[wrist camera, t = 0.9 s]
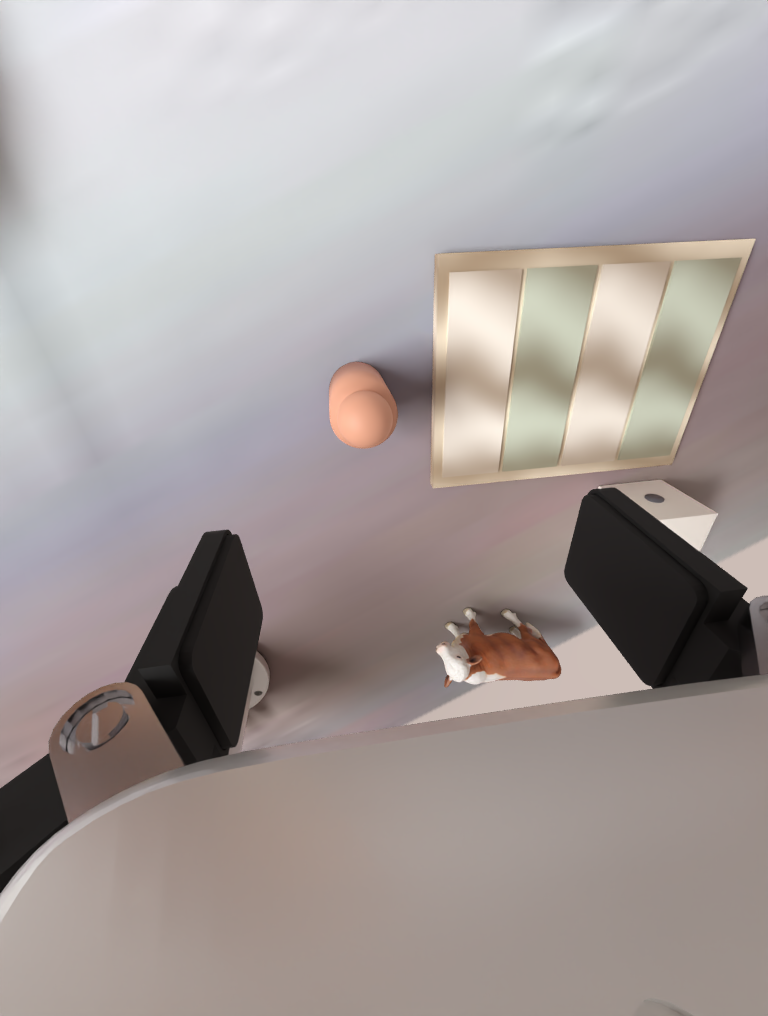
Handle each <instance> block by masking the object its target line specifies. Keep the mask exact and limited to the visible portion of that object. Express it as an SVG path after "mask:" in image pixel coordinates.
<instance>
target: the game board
mask: <svg viewBox="0 0 768 1016" xmlns="http://www.w3.org/2000/svg"><path fill="white" fill-rule="evenodd" d="M754 242H755V239H738V240H717V241H696V242H675V243H654V244H633V245H611V246H590V247H569V248H548V249H527V250H506V251H485V252H463V253H442V254H435V272H434V323H433V374H432V425H431V476H430V483H431V485H432V487H433V488H442V487H452V486H462V485H472V484H482V483H492V482H502V481H512V480H522V479H532V478H542V477H551V476H561V475H571V474H581V473H591V472H601V471H611V470H621V469H631V468H641V467H651V466H661V465H671V464H672V462H673V460H674V457H675V454H676V452H677V449H678V446H679V443H680V441H681V438H682V435H683V433H684V430H685V427H686V425H687V422H688V419H689V417H690V414H691V411H692V409H693V406H694V403H695V401H696V398H697V395H698V392H699V390H700V387H701V384H702V382H703V379H704V376H705V374H706V371H707V368H708V366H709V363H710V360H711V358H712V355H713V352H714V349H715V347H716V344H717V341H718V339H719V336H720V333H721V331H722V328H723V325H724V323H725V320H726V317H727V315H728V312H729V309H730V307H731V304H732V301H733V298H734V296H735V293H736V290H737V288H738V285H739V282H740V280H741V277H742V274H743V272H744V269H745V266H746V264H747V261H748V258H749V256H750V253H751V250H752V247H753V245H754Z"/></svg>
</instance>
